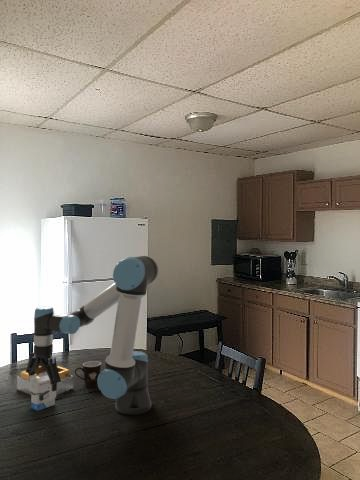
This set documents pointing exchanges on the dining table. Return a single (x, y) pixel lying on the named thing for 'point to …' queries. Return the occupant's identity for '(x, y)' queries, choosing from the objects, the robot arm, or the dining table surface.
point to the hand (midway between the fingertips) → (42, 394)
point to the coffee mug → (90, 373)
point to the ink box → (41, 393)
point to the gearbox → (64, 375)
